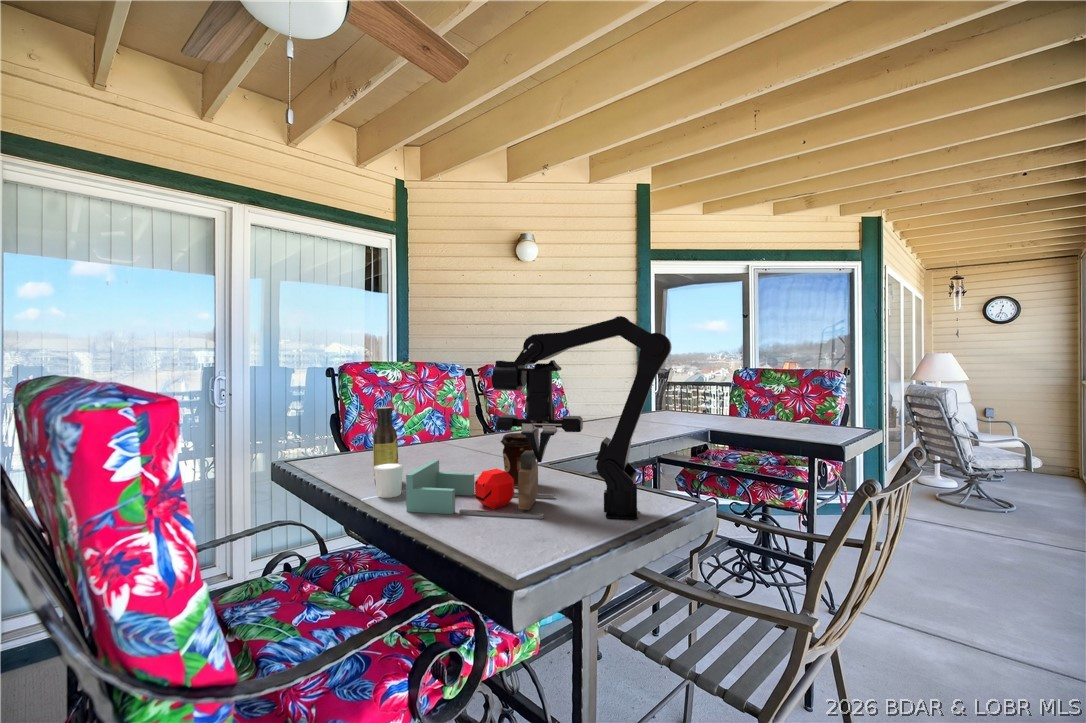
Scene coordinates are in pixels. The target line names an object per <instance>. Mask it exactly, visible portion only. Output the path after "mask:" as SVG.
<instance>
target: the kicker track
mask: <svg viewBox="0 0 1086 723" xmlns="http://www.w3.org/2000/svg"><path fill="white" fill-rule="evenodd" d="M513 498H518V492H516V491H514V496H513ZM537 499H545V500H547V499H550V500H553V499H555V494H554V493H538V497H537ZM458 512H459V515H461V516H462V515H465V516H480V517H496V518H497V517H499V518H515V519H517V518H519V519H531V520H532V519H535V520H537V519H538V520H543V519H544V517H545V516H544V515H545V514H544V513H539V512H538V513H537V512H536V513H535V512H518V511H517V512H516V511H504V510H503V511H502V510H501V511H497V510H485V509H484V510H482V509H481V510H480V509H466V508H465V509H459V510H458Z"/></svg>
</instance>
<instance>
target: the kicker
mask: <svg viewBox="0 0 1086 723" xmlns="http://www.w3.org/2000/svg"><path fill="white" fill-rule="evenodd" d="M517 493H518V497H517V500H518V504H517V505H518V510H529V511H530V509H531V508H532V506H533V505H534V503H535V502H536V500H537V499H538V498H537V497H538V494H539V462H537V460H536V457H535V454H534V452H533V451H524V452H523V453H522V454H521V469H520V470H519V471H518V488H517Z"/></svg>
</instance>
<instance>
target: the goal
mask: <svg viewBox="0 0 1086 723" xmlns="http://www.w3.org/2000/svg"><path fill="white" fill-rule="evenodd" d="M475 481H476V480H475V473H472V472H449V471H440V459H432V460H430V461H428V462H427V463H425V464H423V465H421V466H419V467H418V468H416V469H414V470H412V471H411V472H409V473H406V475H405V496H406V503H405V504H406V512H407V513H408V512H411V513H426V514H442V515H443V514H444V515H445V514H446V515H453V514H454V513H456V496H470V497H473V496H475Z"/></svg>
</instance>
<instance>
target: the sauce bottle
mask: <svg viewBox="0 0 1086 723" xmlns="http://www.w3.org/2000/svg"><path fill="white" fill-rule="evenodd" d="M375 410H376V411H375V412H376V415H377V416H376V417H377V423H376V428H375V430H374V431H373V434H372V438H373V439H372V449H373V450H372V452H373V453H372V454H373V456H372V458H373V459H372V460H373V462H372V463H373V467H374V466H376V465H380V464H385V463H399V449H398V448H399V446H398V445H399V444H398V433H397V430H396V429H395V426H394V425H393V411H394V408H393V407H392V406H381V407H380V406H379V407H378V406H377V407H376V408H375ZM373 476H374V477H375V472H374V471H373ZM374 483H375V484H376V481H375V478H374Z"/></svg>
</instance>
